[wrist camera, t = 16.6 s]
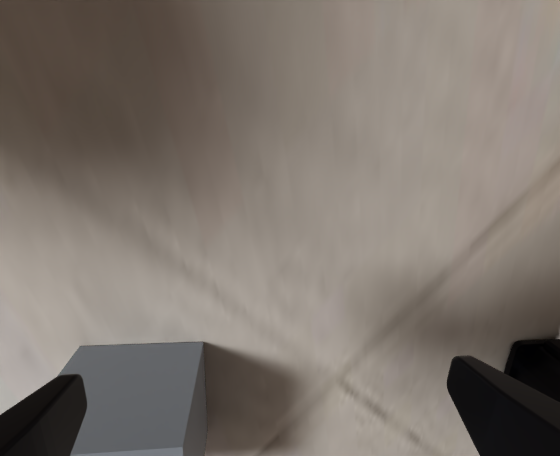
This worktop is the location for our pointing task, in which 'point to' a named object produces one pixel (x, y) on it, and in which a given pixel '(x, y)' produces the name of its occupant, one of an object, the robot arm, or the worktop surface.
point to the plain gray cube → (142, 399)
